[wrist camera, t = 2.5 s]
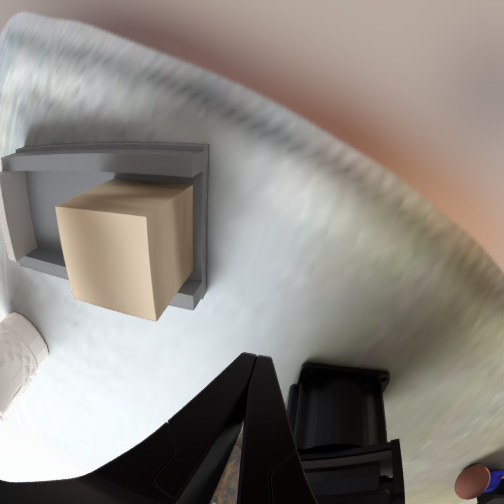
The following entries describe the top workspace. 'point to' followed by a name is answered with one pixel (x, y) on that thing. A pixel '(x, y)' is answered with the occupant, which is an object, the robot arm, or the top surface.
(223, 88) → the top surface
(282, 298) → the top surface
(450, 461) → the top surface
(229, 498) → the brown piece
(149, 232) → the birch block
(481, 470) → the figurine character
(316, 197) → the top surface
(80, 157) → the chute
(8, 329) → the white cup
